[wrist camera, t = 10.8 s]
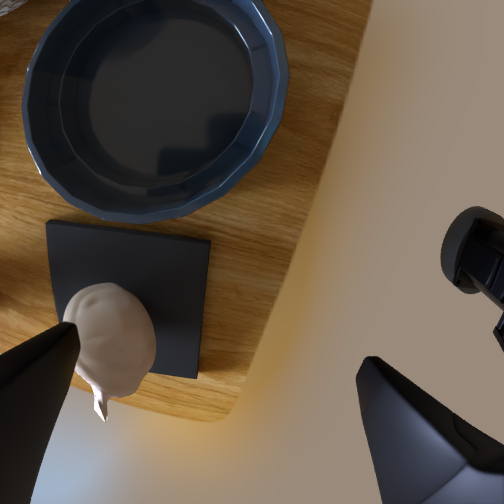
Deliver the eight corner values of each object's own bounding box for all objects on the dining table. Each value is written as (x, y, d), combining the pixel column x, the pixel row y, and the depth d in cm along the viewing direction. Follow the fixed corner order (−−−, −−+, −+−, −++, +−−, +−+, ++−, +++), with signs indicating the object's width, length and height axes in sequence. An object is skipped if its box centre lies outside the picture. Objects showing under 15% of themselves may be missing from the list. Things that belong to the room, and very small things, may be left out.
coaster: (211, 239, 20) (210, 244, 19) (197, 372, 24) (197, 379, 23) (50, 219, 18) (45, 222, 18) (69, 348, 23) (65, 353, 22)
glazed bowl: (291, 6, 14) (307, -24, 10) (254, 215, 19) (260, 240, 15) (83, 0, 12) (52, -21, 8) (55, 192, 18) (18, 210, 14)
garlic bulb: (77, 321, 21) (33, 391, 13) (94, 254, 19) (35, 321, 11) (151, 356, 22) (129, 437, 15) (180, 296, 20) (157, 382, 13)
